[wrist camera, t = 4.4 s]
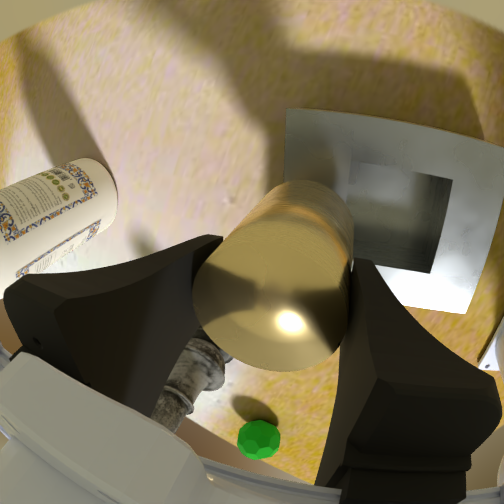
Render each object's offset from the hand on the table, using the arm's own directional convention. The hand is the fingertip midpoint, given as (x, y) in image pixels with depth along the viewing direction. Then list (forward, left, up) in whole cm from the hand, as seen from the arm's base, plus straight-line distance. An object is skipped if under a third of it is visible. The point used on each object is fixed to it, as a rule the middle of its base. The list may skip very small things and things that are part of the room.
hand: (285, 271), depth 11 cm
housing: (-5, 0, -10) cm, 11 cm away
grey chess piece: (+8, +16, -10) cm, 21 cm away
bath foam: (+19, +2, -10) cm, 22 cm away
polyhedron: (+2, +28, -10) cm, 30 cm away
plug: (0, 0, -4) cm, 4 cm away
